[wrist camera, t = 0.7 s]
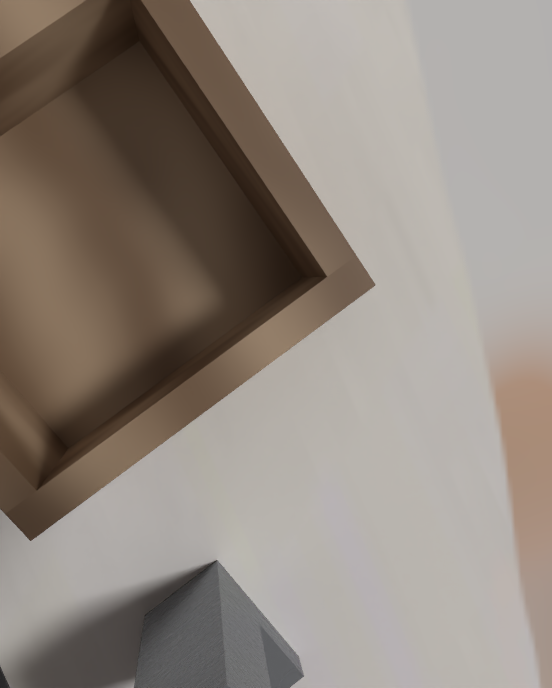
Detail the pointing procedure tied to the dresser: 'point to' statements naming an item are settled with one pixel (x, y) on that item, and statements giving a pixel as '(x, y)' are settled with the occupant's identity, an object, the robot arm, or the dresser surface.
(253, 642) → the grey block
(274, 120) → the dresser surface
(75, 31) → the open wooden box
